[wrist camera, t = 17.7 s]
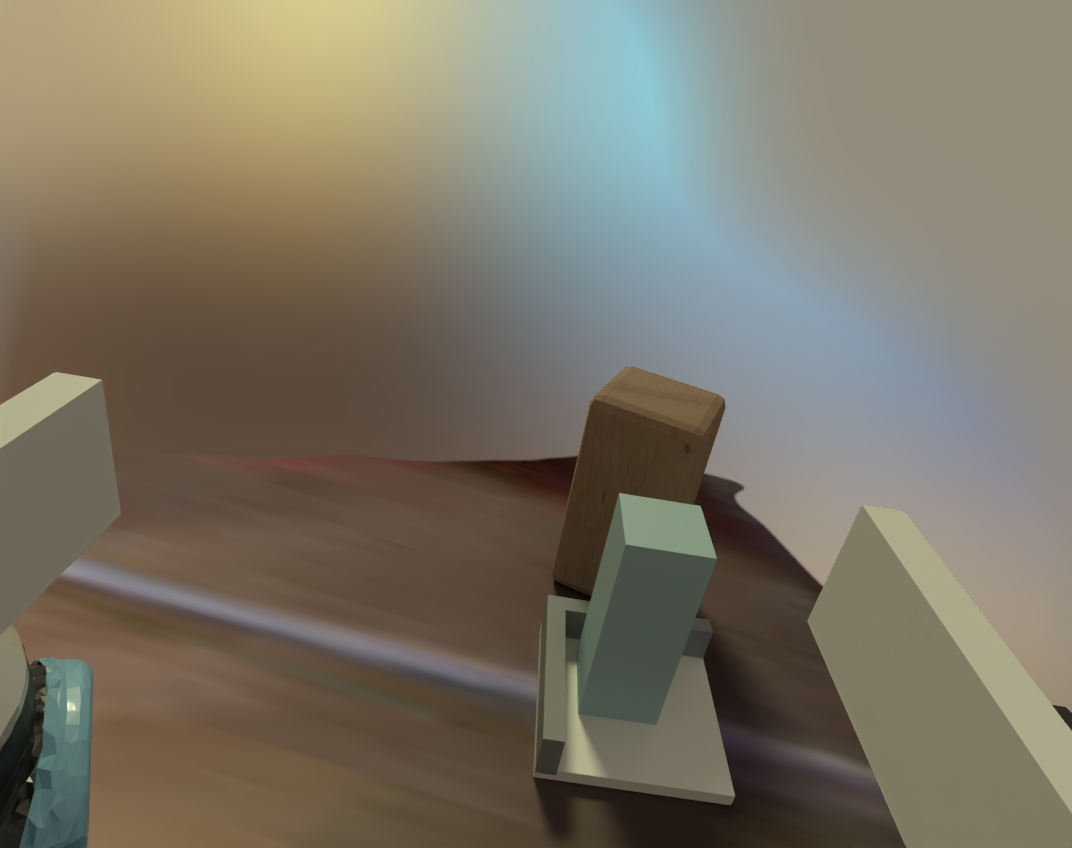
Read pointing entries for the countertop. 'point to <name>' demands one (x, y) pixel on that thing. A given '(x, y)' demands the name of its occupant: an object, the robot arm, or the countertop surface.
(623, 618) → the teal post
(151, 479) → the countertop surface
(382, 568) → the countertop surface
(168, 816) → the countertop surface
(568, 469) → the countertop surface
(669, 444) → the wooden block
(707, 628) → the corner jig
